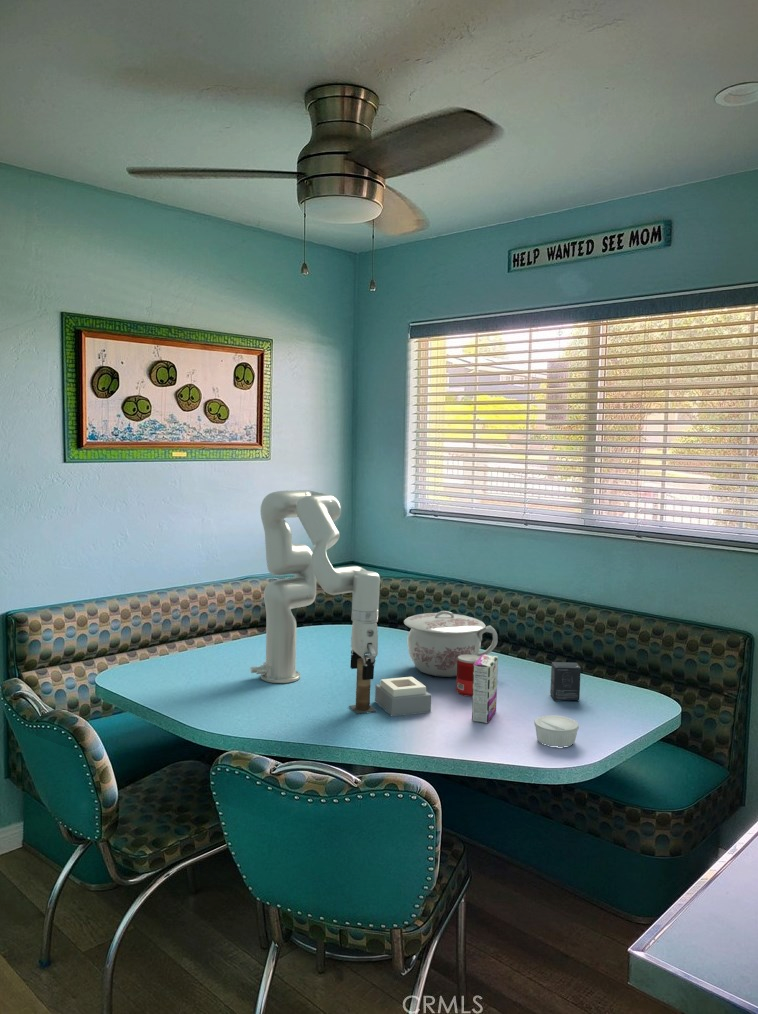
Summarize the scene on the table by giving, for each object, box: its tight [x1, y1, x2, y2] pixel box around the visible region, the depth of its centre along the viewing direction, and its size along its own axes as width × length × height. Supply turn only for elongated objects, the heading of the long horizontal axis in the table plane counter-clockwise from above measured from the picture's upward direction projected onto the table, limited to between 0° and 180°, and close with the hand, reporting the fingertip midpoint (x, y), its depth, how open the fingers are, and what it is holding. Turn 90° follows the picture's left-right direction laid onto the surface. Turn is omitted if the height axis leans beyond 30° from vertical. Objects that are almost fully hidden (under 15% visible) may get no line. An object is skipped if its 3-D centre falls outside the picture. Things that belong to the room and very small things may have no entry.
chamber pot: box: [403, 610, 499, 678], centre depth 262 cm, size 28×28×21 cm
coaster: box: [348, 704, 377, 715], centre depth 223 cm, size 6×6×1 cm
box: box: [549, 661, 582, 701], centre depth 239 cm, size 8×6×11 cm
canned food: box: [455, 654, 480, 697], centre depth 241 cm, size 8×8×11 cm
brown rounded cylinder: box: [355, 658, 372, 710], centre depth 223 cm, size 4×4×14 cm
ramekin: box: [534, 714, 580, 747], centre depth 204 cm, size 11×11×5 cm
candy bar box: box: [471, 654, 499, 725], centre depth 220 cm, size 11×5×16 cm, turn 160°
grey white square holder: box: [374, 676, 432, 717], centre depth 227 cm, size 12×13×7 cm
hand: (361, 673), depth 223 cm, fingers open, 9 cm apart
